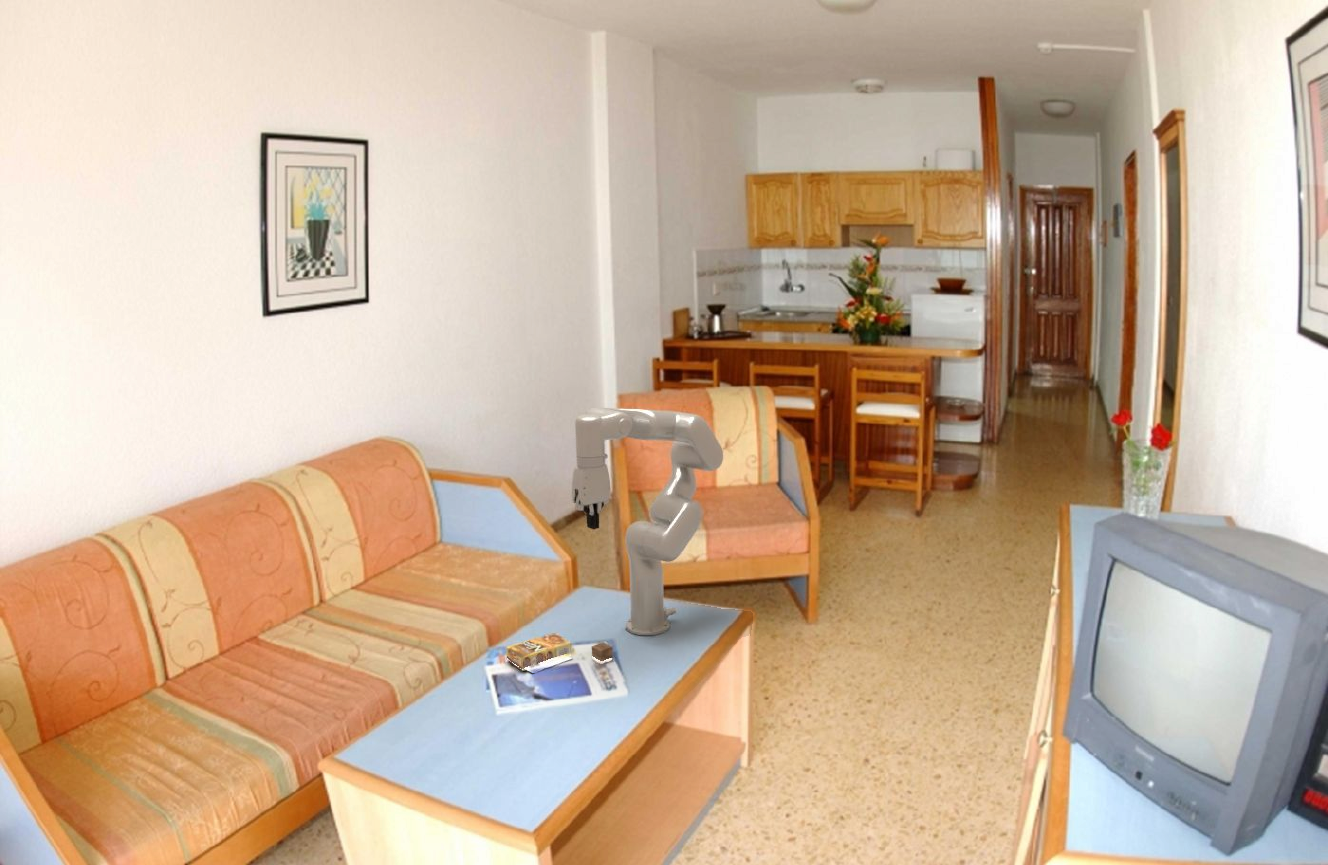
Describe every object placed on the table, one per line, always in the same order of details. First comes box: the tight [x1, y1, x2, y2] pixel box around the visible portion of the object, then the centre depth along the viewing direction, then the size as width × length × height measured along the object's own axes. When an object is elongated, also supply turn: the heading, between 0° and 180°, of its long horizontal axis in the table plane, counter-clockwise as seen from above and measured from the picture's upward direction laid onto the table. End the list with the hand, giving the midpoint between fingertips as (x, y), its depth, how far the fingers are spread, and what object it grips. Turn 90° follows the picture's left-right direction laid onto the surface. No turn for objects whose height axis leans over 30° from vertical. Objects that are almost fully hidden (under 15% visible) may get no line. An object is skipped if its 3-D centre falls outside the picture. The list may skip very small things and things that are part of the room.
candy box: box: [505, 632, 572, 669], centre depth 271 cm, size 9×4×15 cm
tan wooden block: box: [591, 641, 614, 661], centre depth 271 cm, size 4×4×4 cm
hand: (593, 527), depth 270 cm, fingers closed
